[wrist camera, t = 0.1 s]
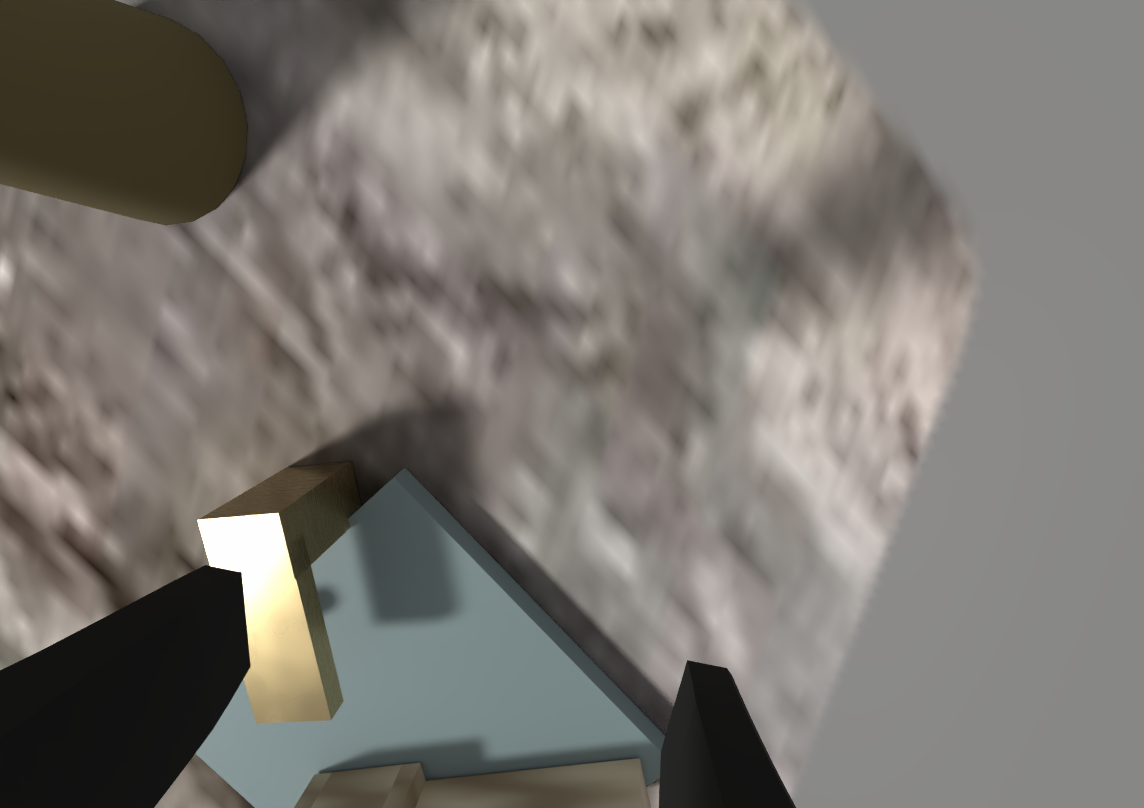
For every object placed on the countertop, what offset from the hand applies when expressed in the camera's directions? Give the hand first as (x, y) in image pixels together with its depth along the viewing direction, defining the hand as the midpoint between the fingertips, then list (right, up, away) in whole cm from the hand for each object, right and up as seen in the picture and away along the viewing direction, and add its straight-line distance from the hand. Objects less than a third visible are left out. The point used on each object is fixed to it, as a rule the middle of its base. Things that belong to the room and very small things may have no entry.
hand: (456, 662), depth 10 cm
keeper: (-6, -1, +12) cm, 13 cm away
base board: (-4, -8, +13) cm, 16 cm away
